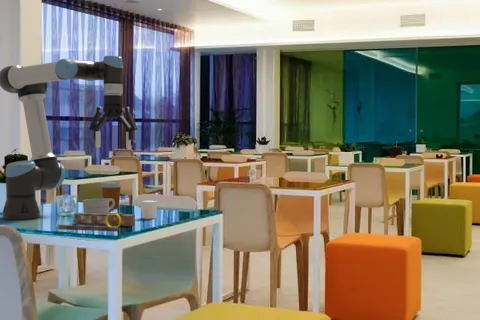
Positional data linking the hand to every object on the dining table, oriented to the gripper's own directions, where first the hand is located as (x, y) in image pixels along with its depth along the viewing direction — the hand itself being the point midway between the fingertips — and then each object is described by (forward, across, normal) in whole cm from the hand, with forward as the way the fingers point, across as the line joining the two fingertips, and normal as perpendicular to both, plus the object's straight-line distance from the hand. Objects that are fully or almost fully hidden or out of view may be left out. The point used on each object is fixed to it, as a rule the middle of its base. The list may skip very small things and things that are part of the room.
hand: (113, 148), depth 286 cm
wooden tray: (+29, +2, -17) cm, 34 cm away
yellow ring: (+29, +10, -18) cm, 36 cm away
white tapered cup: (+29, +11, +11) cm, 33 cm away
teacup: (+30, -9, +6) cm, 32 cm away
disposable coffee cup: (+30, -20, +36) cm, 51 cm away
